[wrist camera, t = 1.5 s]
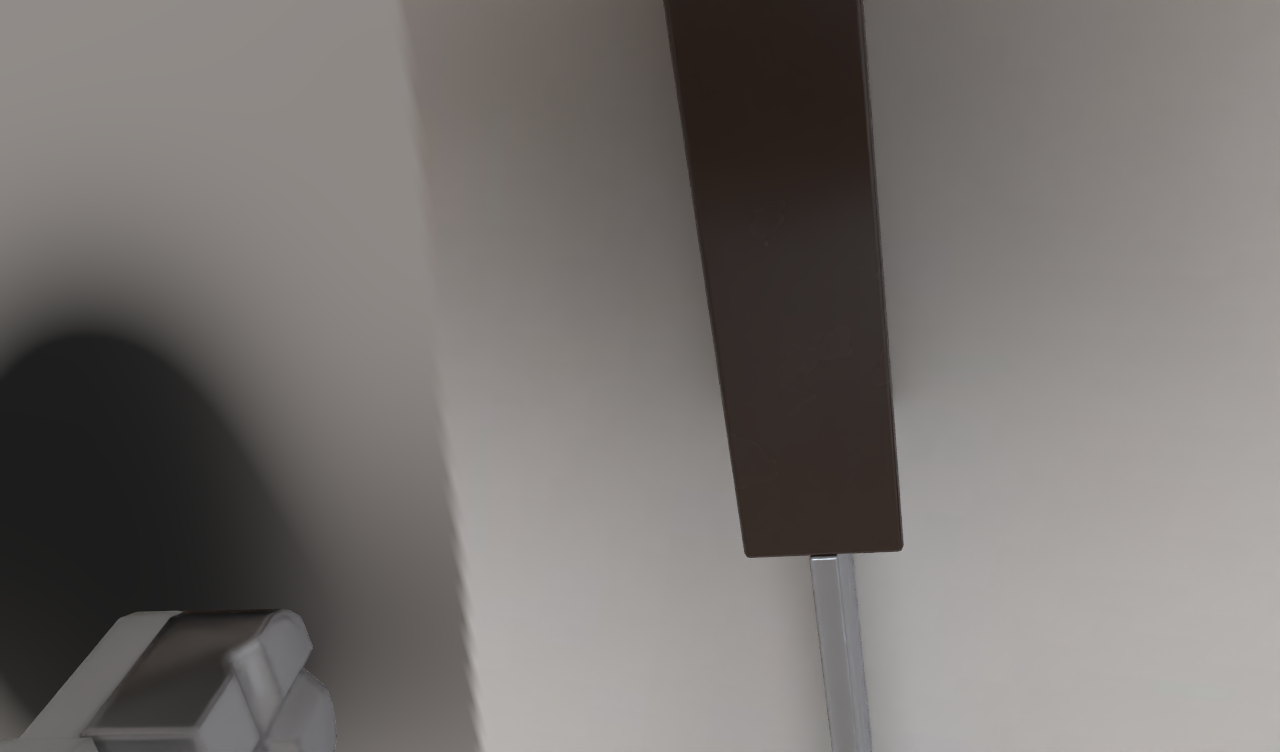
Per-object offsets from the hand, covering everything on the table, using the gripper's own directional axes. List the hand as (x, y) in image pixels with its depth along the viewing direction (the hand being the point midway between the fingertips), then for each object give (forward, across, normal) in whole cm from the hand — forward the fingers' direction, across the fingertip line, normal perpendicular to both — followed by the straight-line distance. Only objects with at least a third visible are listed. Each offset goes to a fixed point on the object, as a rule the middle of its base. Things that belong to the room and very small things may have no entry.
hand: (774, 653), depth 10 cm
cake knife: (+10, 0, +5) cm, 12 cm away
